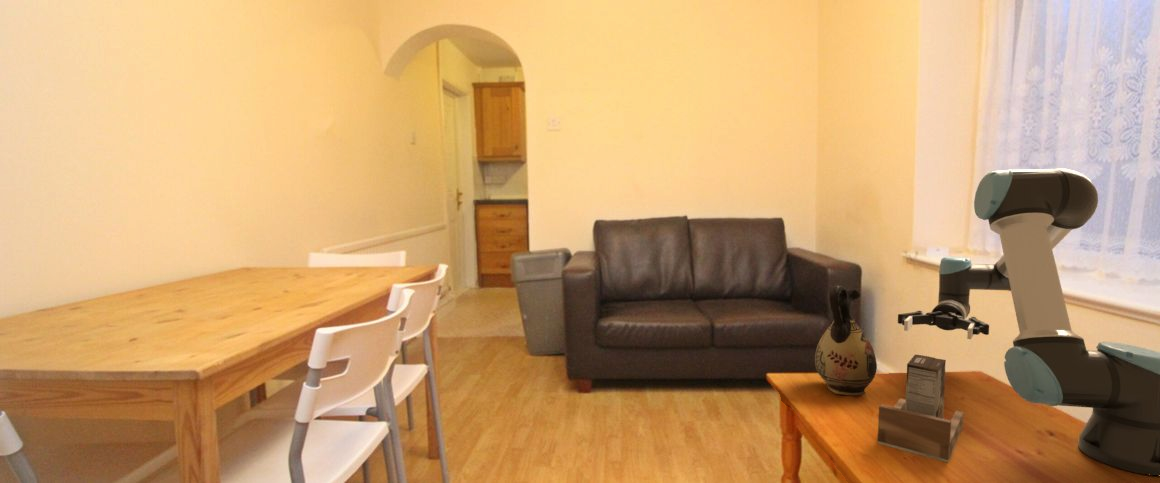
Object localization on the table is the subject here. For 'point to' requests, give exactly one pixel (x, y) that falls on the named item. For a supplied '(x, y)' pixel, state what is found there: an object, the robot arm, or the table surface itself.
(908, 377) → the coffee box
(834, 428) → the table surface
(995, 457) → the table surface
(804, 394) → the table surface
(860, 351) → the ceramic jug
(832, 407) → the table surface
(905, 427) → the wooden tray
